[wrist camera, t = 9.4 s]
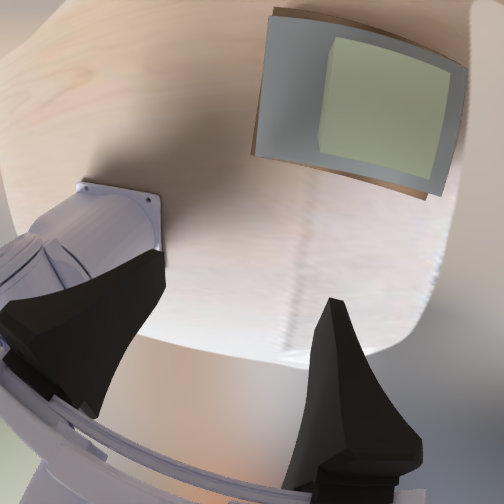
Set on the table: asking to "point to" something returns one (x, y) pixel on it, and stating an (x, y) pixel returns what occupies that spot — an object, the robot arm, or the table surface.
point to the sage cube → (382, 107)
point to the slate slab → (311, 97)
